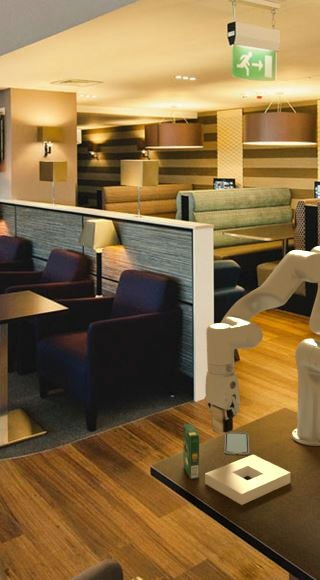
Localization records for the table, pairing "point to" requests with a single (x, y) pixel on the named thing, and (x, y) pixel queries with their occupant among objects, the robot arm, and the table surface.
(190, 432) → the coffee box
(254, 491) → the socket plate
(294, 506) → the table surface
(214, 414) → the plug
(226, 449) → the smartphone
